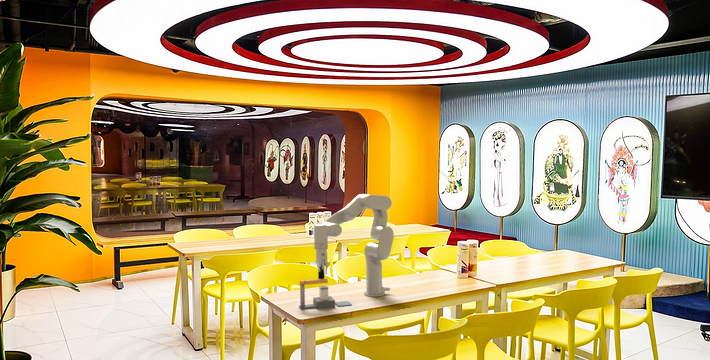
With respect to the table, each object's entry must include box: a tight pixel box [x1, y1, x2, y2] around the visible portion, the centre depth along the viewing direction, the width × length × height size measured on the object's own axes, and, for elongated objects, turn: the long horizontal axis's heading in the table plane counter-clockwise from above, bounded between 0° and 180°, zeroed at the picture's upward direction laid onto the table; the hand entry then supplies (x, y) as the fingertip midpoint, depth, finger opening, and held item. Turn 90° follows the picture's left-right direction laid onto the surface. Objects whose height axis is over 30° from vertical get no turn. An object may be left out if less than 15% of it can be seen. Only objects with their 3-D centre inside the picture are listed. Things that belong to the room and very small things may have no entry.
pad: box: [335, 300, 353, 308], centre depth 282 cm, size 8×8×1 cm
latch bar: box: [299, 278, 329, 286], centre depth 278 cm, size 16×3×2 cm, turn 107°
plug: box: [318, 284, 329, 300], centre depth 279 cm, size 4×4×11 cm
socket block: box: [298, 284, 336, 310], centre depth 278 cm, size 18×10×13 cm, turn 107°
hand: (321, 278), depth 284 cm, fingers closed
